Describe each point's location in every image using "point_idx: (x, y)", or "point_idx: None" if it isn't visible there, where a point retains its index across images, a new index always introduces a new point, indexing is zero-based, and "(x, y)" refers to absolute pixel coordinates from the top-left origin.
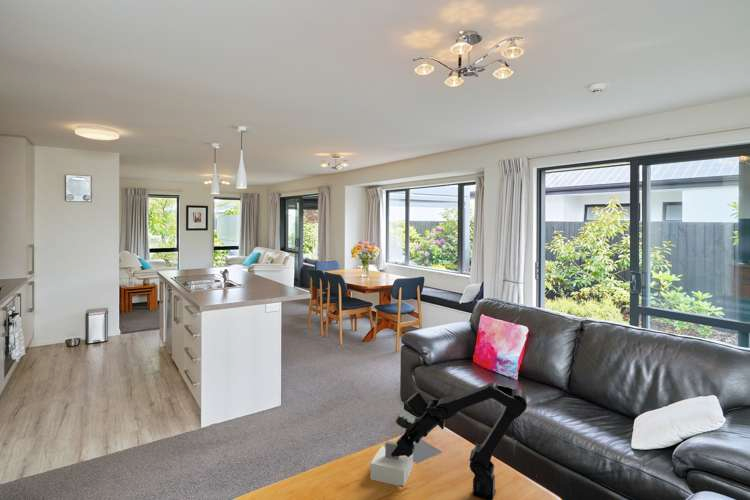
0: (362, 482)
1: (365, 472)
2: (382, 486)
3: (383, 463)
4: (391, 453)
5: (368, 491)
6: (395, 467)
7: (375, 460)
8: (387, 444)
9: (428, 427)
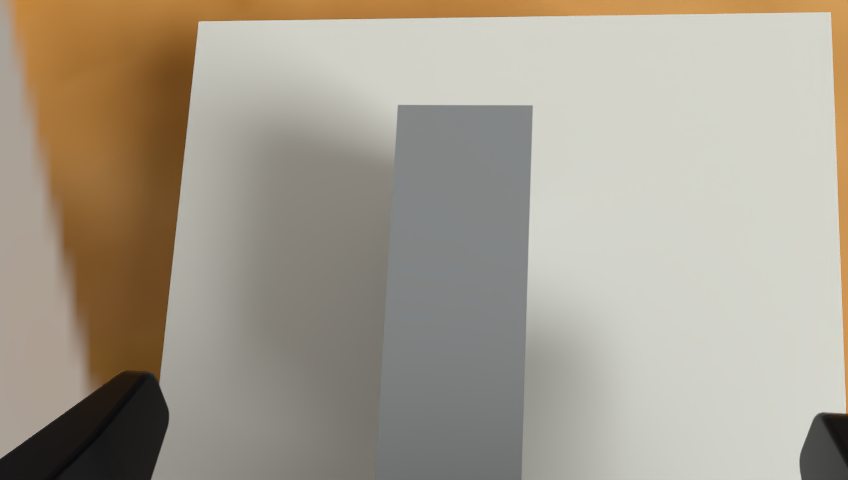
0: None
1: (403, 13)
2: None
3: (244, 228)
4: (94, 392)
5: (76, 170)
6: (175, 473)
7: (291, 70)
8: (397, 178)
9: None
